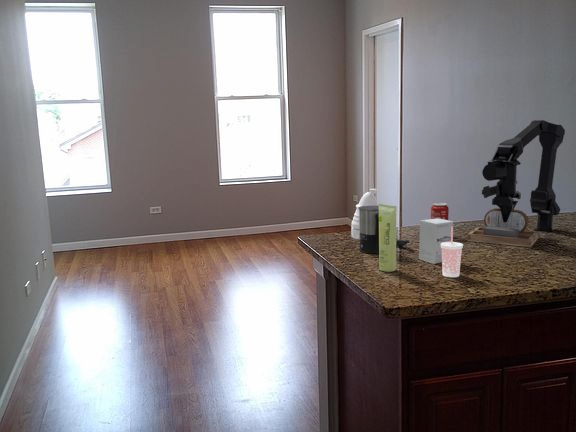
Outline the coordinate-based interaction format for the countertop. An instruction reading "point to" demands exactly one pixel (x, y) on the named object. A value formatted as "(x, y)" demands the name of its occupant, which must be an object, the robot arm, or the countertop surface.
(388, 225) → the tube
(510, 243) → the divided wooden tray
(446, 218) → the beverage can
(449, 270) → the beverage cup
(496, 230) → the bar
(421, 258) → the supplement box
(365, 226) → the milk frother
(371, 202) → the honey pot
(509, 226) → the tin
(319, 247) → the countertop surface
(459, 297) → the countertop surface
